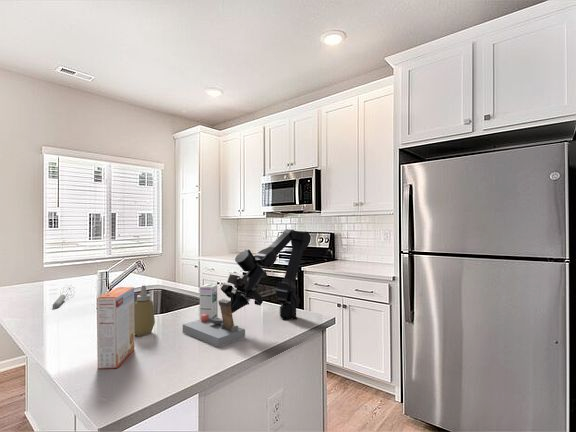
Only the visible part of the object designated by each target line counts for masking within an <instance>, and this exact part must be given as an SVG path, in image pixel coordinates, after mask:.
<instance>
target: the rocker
mask: <svg viewBox="0 0 576 432" xmlns="http://www.w3.org/2000/svg"><path fill="white" fill-rule="evenodd" d="M208 322H210V323H213V324H221V323H223V319H220V318H215V319H208Z"/></svg>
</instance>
